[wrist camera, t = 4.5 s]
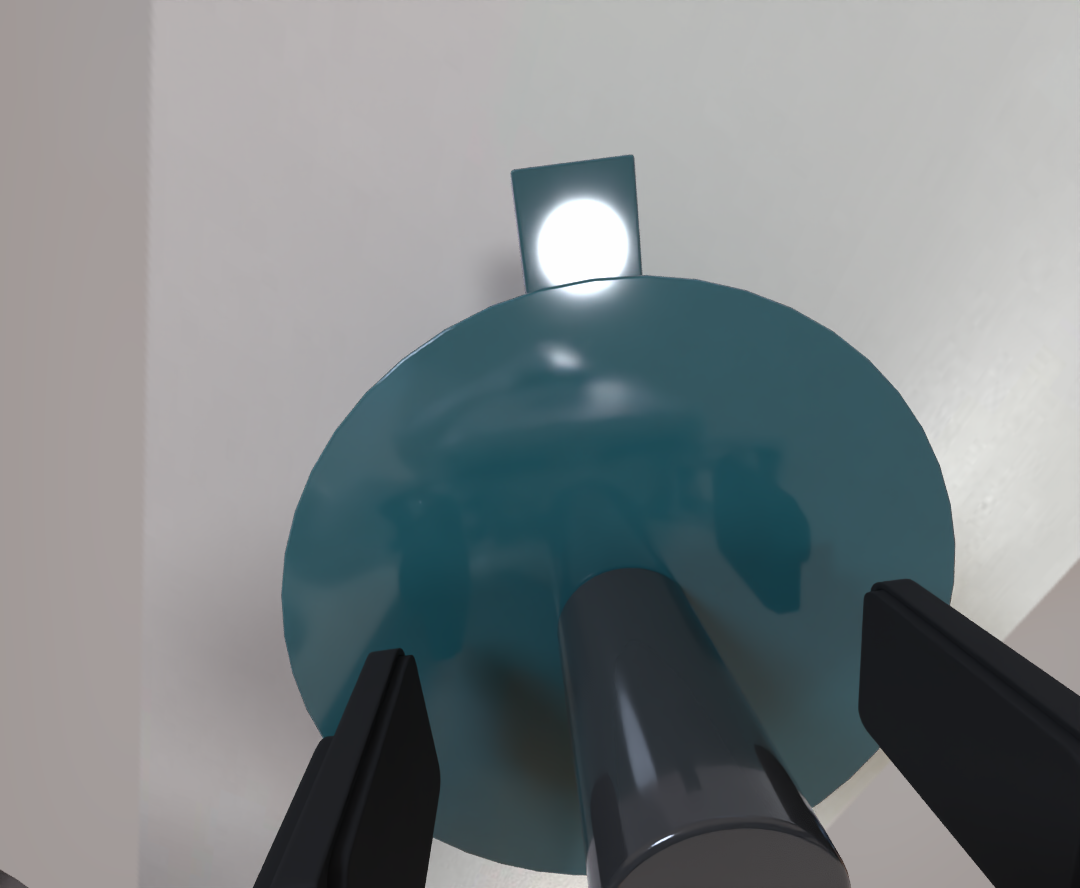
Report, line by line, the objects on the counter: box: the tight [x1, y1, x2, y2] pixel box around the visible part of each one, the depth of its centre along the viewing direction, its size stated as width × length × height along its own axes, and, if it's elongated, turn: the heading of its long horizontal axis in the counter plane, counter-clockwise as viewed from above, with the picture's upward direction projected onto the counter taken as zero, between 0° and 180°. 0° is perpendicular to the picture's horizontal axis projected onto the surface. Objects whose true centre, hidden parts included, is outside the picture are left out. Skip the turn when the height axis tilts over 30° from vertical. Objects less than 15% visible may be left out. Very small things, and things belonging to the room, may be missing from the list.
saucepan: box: [511, 155, 642, 294], centre depth 17 cm, size 14×19×10 cm
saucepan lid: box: [281, 275, 955, 888], centre depth 9 cm, size 15×15×7 cm
